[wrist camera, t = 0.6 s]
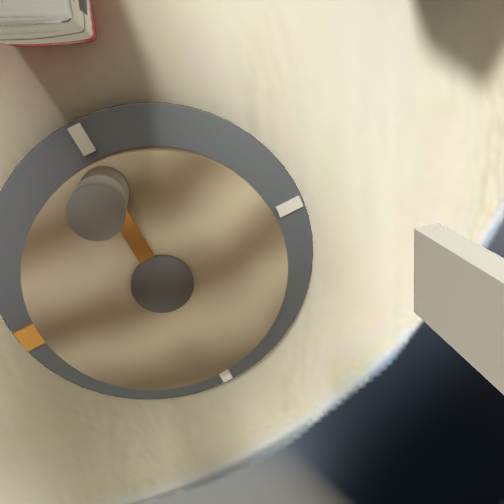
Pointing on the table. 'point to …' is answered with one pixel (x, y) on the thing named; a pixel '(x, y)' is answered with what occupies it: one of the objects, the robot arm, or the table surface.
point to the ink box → (46, 22)
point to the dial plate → (134, 136)
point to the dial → (154, 269)
